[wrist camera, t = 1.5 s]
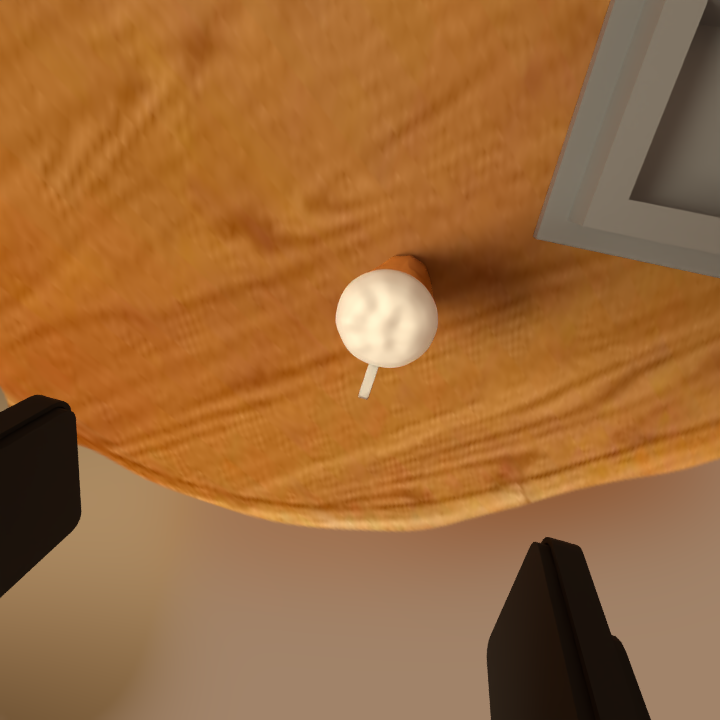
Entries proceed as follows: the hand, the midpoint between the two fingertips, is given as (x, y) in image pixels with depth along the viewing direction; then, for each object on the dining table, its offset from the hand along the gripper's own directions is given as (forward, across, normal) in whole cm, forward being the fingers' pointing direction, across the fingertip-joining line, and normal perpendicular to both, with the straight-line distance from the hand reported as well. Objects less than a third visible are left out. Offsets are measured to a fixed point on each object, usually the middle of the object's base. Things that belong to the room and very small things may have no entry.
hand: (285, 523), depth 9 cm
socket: (+21, -13, -11) cm, 27 cm away
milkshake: (+21, 0, 0) cm, 21 cm away
